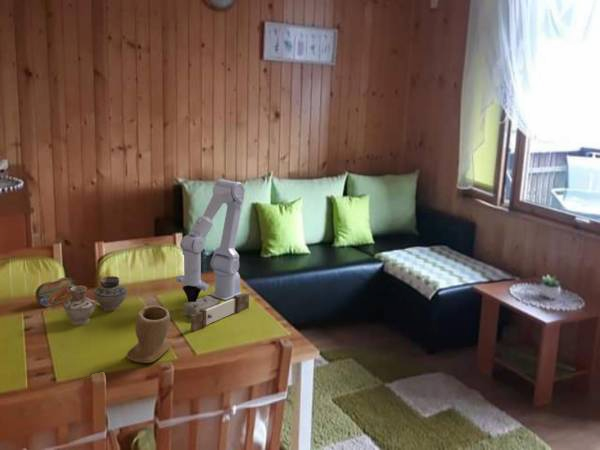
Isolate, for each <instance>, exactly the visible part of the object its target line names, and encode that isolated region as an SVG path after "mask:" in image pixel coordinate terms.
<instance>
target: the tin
mask: <svg viewBox="0 0 600 450" xmlns="http://www.w3.org/2000/svg"><path fill="white" fill-rule="evenodd" d="M75 286H78V284H77V282H76V280H74V278H71V277H60V278H57V279H54V280H51V281H47V282H46V281H45V282H44V283H41V284H40V285H39V286H38V287H37V288H36V289H35V300H36V302H37V303H38V304H39V305H41V306H43V307H46V308H49V307H52V306H56V305H58V304H63V303H65V302H66V301H68V300H69V299H71V298H72V293H71V290H70V289H71V288H72V287H75Z"/></svg>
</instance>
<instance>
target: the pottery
mask: <svg viewBox="0 0 600 450" xmlns="http://www.w3.org/2000/svg"><path fill="white" fill-rule="evenodd" d="M70 290H71V293H72V298H71V299H69V300H68V301H66V302H63V305H62V307H63V309H64V312H65V314H66V316H67V317H68V318H69V319H71V325H74V326H84V325H88V324H89V323H90V322H91V320H90V317H92V315H93V313H94V311H95V308H96V302H97V303H98V304H99V305H101V306H102V309H103V310H104V311H108V312H109V311H110V312H111V311H116V310H119V308H120V305H121V304H122V303H123V302H124V301H125V300H126V297H127V294H128V289H127V288H126V286H123V285H121V284H120V278H119V277H118V276H114V275H110V276H109V275H108V276H104V277H101V279H100V285H99V286H98V287H96V288H95V289H94V290H93V295H94V296H93V297H94V300H93V299H91V298H90V297H87V291H88V287H87V286H85V285H77V286H75V287H72V288H71V289H70ZM95 300H96V301H95Z"/></svg>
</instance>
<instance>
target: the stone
mask: <svg viewBox="0 0 600 450" xmlns="http://www.w3.org/2000/svg"><path fill="white" fill-rule="evenodd" d="M218 304H221V302H220V300H218V299H216V298H215V297H214V298H213V296H211V295H209V296H208V295H206V296H202V297H198V298H197V300H196V302H190V303H189V302H188V301H187V302H184V304H183V314H184V316H188V317H190V318H191V315H192V314H194V313H197V312H199V310H200V309H204V310H206V309H208V308H211V307H213V306H216V305H218Z"/></svg>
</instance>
